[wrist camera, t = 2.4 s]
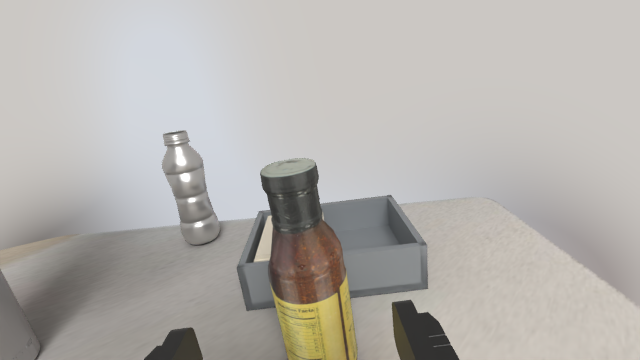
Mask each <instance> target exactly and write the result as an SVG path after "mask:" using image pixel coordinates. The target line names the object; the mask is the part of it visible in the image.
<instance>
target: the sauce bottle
mask: <svg viewBox="0 0 640 360" xmlns="http://www.w3.org/2000/svg"><path fill="white" fill-rule="evenodd" d="M260 175H261V182H262V187H263V190H264V191H265V192H266V194H267V196H268V201H269V206H270V210H271V215H272V218H271V221H272V225H273V231H272V244H271V256H270V260H269V264H268V277H269V281H270V286H271V290H272V294H273V298H274V302H275V306H276V310H277V314H278V318H279V322H280V327H281V331H282V335H283V339H284V343H285V348H286V352H287V356H288V360H357V344H356V338H355V330H354V323H353V316H352V309H351V302H350V294H349V286H348V279H347V272H346V267H345V265H344V260H343V251H342V247H341V243H340V241H339V239H338V238H337V236H336V234H335V232H334V230H333V229H332V228H331V227H330V226H329V225H328V224H327V223H326V222H325V221H324V220H323V219H322V217H323V216H322V215H323V213H322V208H321V206H320V202H319V195H318V189H317V183H318V177H319V176H318V171H317V166H316V163H315V162H314V161H313V160H311V159H306V158H299V159H298V158H295V159H289V160H284V161H278V162H275V163H272V164H269V165H267V166H266V167H265V168H263V169H262V170H261V173H260Z"/></svg>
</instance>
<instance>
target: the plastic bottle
mask: <svg viewBox="0 0 640 360" xmlns="http://www.w3.org/2000/svg"><path fill="white" fill-rule="evenodd" d="M163 138H164V142H165V143H164V144H165V146H167V148H168V149H167V152H166V154H165V156H164V159H163V162H162V169H163V171H164V173H165V176H166V178H167V180H168V182H169V184H170V186H171V188H172V191H173V194H174V196H175V200H176V202H177V206H178V211H179V216H180V220H181V221H180V227H181V233H182V235H183V237H184V239H185V241H187V242H188V243H190V244H192V245H200V244H204V243H207V242H210V241H212V240H214V239H215V238H216V237H217V236H218V234H219V231H220V226H219V221H218V219H217V216H216V214H215V213H214V211H213V208H212V205H211V202H210V199H209V197H208V192H207V190H206V188H207V187H206V183H205V175H204V167H203V160H202V158H201V157H200V155H199V154H198V153H197V152H196V151H195V150H194V149H193V148H192V147H191V146H189V144H188V142H189V138H188V135H187V132H186V131H176V132H170V133H166V134H163Z"/></svg>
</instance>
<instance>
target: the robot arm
mask: <svg viewBox="0 0 640 360" xmlns="http://www.w3.org/2000/svg"><path fill="white" fill-rule="evenodd" d="M392 313H393V327H394V337H395V343H396V347H397V350H398V354H399V357H400V360H459V358H458V356H457V355H456V353H455V351H454V349H453V347H452V346H451V344H450V342H449V340H448V338H447V336H446V335H445V332H444V331H443V329H442V327H441V325H440V323H439V322H438V321H437V320H436V319H435V318H434V317H433V316H431V315H430V314H429V313H428V312H426V313H417V310H416V308H415V306H414V304H413V302H412V301H411V300H406V301H399V302H392ZM39 350H40V343H39V341H38V339H37V337H36V336H35V334H34V332H33V330H32V328H31V326H30V324H29V322H28V320H27V319H26V316H25V314H24V313H23V311H22V309H21V307H20V305H19V303H18V301H17V299H16V297H15V296H14V294H13V292H12V290H11V288H10V286H9V284H8V282H7V281H6V279H5V277H4V275H3V273H2V271H1V269H0V360H35V358H36V357H37V355H38V353H39ZM144 360H203V357H202V354H201V350H200V347H199V344H198V341H197V338H196V335H195V332H194V330H193V328H183V329H175V330H171V331H170V332H169V334H168V335H167V337H166V339H165V341H164V342H163V344H162V346H157V347H156V348H155V349H154V350H153V351H152V352H151V353H150V354H149V355H148V356H147V357H146V358H145V359H144Z"/></svg>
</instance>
